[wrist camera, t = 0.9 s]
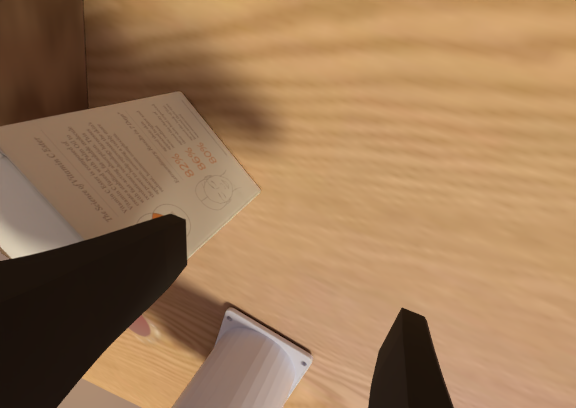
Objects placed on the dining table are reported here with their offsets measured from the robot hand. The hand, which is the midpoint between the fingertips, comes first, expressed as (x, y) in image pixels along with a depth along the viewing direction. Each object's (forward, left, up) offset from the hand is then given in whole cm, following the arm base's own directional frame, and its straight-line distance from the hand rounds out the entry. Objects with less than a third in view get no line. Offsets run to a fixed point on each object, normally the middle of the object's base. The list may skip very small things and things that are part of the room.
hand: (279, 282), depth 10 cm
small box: (-4, +9, -9) cm, 14 cm away
